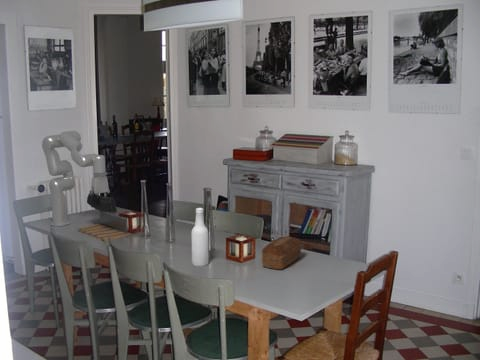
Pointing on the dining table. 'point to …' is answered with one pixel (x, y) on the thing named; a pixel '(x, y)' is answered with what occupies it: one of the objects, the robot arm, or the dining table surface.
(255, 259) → the dining table surface
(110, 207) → the magazine
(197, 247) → the alcohol
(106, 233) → the shelf board
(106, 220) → the shelf wall
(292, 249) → the bread
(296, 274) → the dining table surface
